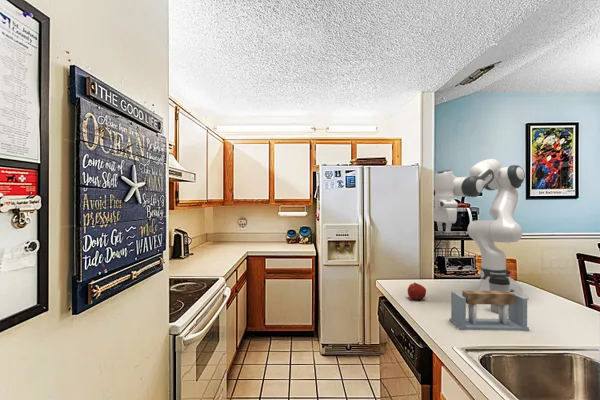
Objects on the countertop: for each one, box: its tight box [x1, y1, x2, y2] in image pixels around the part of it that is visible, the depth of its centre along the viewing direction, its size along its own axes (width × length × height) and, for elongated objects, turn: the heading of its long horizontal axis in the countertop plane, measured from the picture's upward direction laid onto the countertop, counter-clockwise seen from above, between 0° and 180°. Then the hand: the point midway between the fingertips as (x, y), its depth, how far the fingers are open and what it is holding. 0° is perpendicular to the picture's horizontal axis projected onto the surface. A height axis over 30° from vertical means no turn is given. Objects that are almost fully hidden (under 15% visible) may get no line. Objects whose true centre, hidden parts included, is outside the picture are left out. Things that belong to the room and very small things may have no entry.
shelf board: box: [461, 290, 515, 305], centre depth 138 cm, size 18×5×4 cm, turn 88°
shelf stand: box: [448, 290, 530, 332], centre depth 138 cm, size 26×10×12 cm, turn 88°
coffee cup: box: [489, 276, 510, 314], centre depth 156 cm, size 8×8×15 cm
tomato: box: [407, 282, 427, 301], centre depth 175 cm, size 9×9×8 cm
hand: (444, 231), depth 170 cm, fingers open, 8 cm apart
